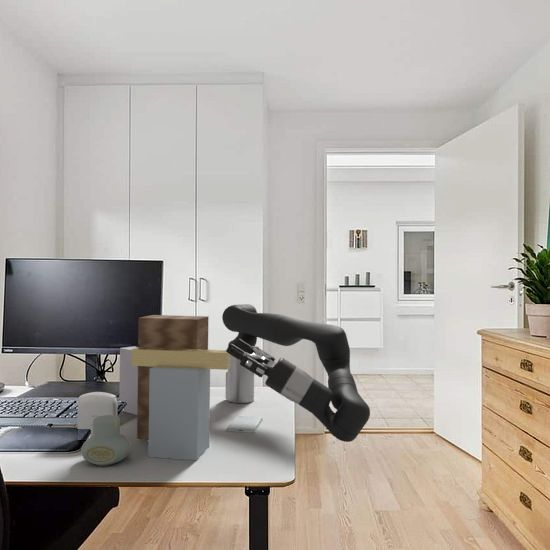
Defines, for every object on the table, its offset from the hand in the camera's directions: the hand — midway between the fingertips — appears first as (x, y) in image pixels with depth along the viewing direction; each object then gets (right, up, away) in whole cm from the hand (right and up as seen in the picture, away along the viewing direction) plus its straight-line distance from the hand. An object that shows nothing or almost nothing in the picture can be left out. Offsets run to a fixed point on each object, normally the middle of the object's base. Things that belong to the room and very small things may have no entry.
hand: (232, 344), depth 125 cm
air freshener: (-29, -27, -5) cm, 40 cm away
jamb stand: (-17, -27, +15) cm, 35 cm away
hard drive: (+2, -28, +26) cm, 38 cm away
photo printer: (-36, -27, +11) cm, 46 cm away
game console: (-27, -27, +34) cm, 51 cm away
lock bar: (-13, -6, +2) cm, 14 cm away
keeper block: (-13, -27, +2) cm, 30 cm away
